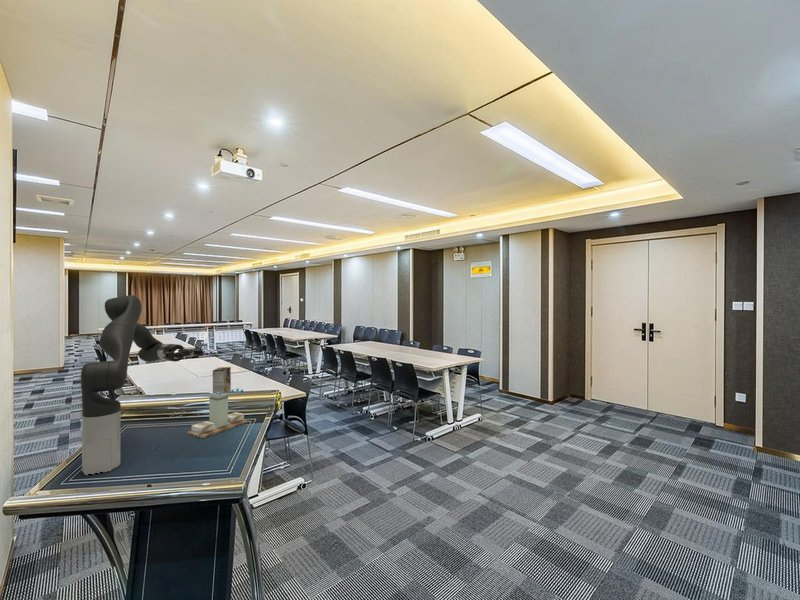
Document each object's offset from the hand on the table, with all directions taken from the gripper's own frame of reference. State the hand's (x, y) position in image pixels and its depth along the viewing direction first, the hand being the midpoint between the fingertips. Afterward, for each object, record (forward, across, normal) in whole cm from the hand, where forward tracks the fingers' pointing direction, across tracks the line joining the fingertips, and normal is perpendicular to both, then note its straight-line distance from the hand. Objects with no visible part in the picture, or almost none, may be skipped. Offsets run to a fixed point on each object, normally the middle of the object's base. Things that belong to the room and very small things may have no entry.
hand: (192, 354), depth 151 cm
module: (+14, +2, +29) cm, 32 cm away
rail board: (+14, +2, +30) cm, 33 cm away
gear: (-10, +29, +30) cm, 43 cm away
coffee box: (-29, +34, +30) cm, 54 cm away
